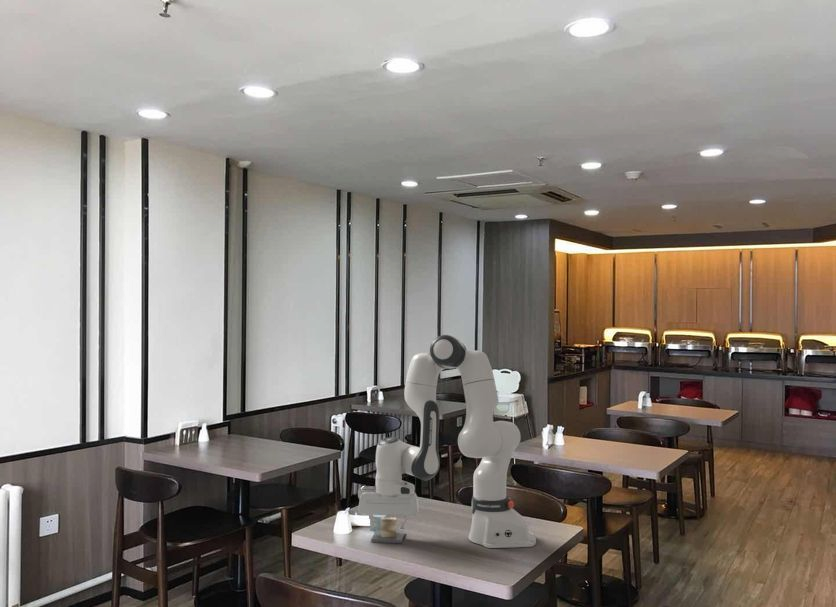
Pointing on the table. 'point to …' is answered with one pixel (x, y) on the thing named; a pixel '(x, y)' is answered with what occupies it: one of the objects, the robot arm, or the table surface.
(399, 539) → the slate coaster
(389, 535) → the birch cube
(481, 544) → the robot arm
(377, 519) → the bluegrey cube
